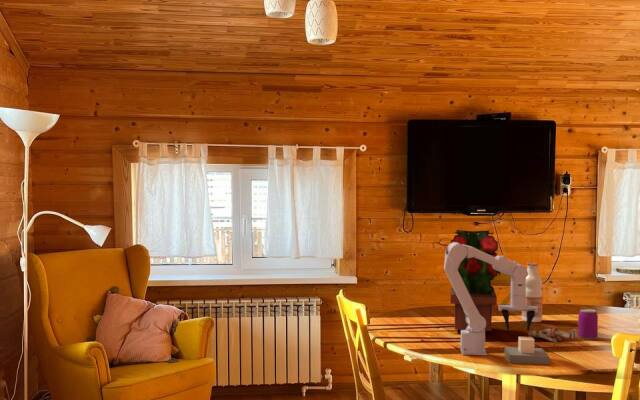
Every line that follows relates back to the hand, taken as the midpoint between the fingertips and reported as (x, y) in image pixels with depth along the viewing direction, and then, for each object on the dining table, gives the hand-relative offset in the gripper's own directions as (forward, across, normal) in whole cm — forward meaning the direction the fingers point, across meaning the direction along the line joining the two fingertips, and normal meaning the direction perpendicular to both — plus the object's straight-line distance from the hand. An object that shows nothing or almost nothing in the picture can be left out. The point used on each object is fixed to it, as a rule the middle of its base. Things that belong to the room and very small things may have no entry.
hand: (517, 329), depth 250 cm
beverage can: (+10, -34, -31) cm, 47 cm away
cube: (+6, -2, +8) cm, 11 cm away
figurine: (+10, -17, -24) cm, 31 cm away
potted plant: (+10, +14, -37) cm, 41 cm away
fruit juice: (+10, -16, -64) cm, 67 cm away
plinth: (+9, -2, +8) cm, 13 cm away
